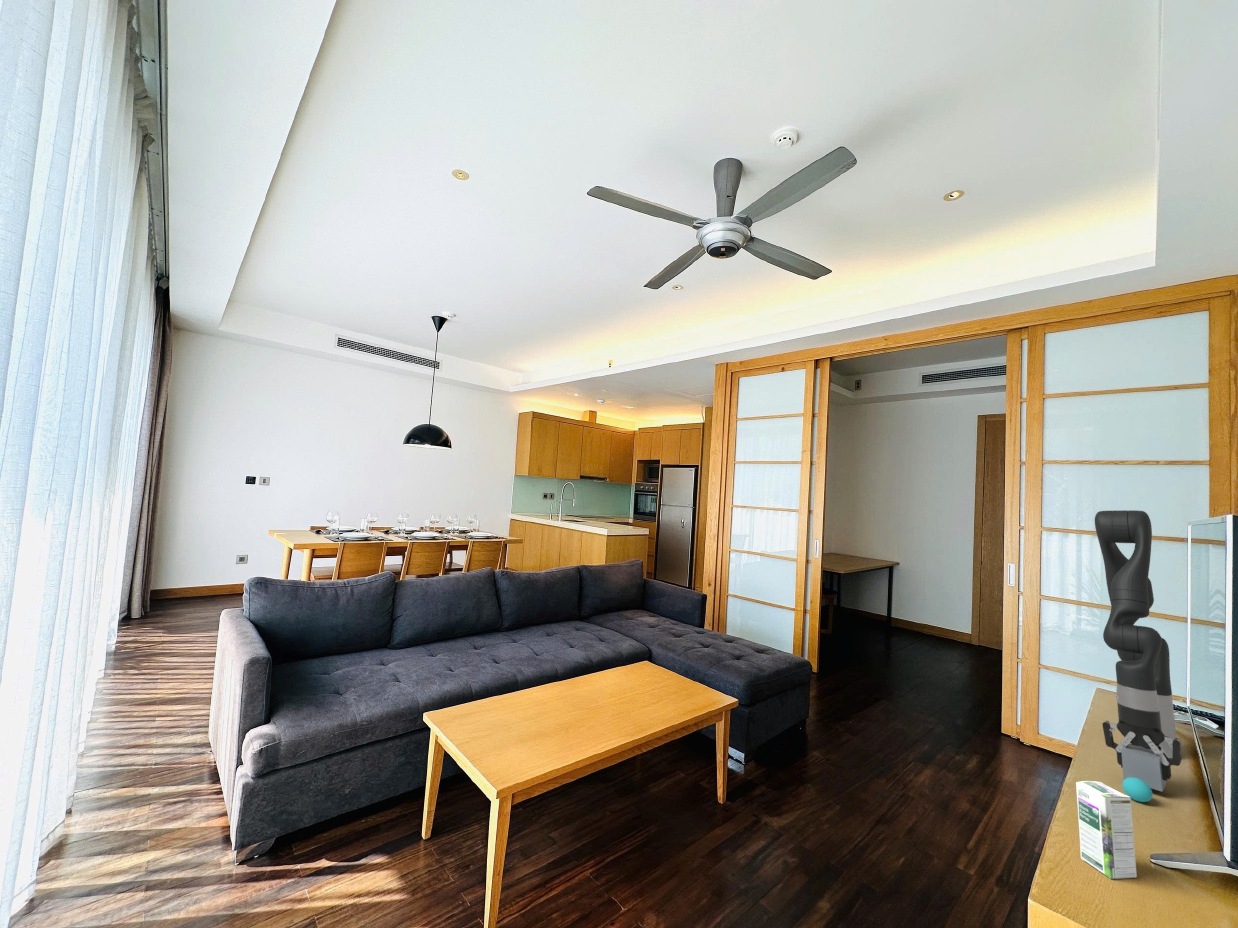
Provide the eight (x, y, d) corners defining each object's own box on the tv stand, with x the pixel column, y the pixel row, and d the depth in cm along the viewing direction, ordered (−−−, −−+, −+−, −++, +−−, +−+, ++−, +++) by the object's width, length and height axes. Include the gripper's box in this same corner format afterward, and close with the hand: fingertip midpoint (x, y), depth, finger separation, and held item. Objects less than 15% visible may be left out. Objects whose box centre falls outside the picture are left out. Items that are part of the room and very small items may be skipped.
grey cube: (1128, 772, 128) (1126, 742, 129) (1166, 783, 123) (1163, 752, 124) (1123, 779, 124) (1121, 748, 125) (1162, 791, 119) (1159, 759, 120)
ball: (1125, 792, 121) (1123, 770, 122) (1155, 802, 117) (1153, 779, 118) (1121, 798, 118) (1119, 776, 119) (1151, 808, 114) (1149, 786, 115)
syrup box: (1079, 858, 97) (1073, 780, 98) (1106, 857, 97) (1100, 779, 99) (1110, 879, 91) (1103, 796, 92) (1139, 878, 91) (1132, 795, 93)
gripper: (1182, 710, 122) (1189, 781, 120) (1102, 693, 134) (1107, 757, 132) (1178, 717, 118) (1185, 790, 116) (1096, 698, 129) (1101, 765, 127)
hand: (1144, 772), depth 124 cm, fingers closed on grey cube, 6 cm apart
